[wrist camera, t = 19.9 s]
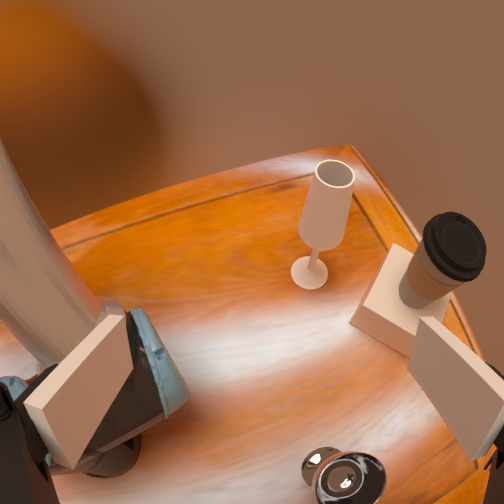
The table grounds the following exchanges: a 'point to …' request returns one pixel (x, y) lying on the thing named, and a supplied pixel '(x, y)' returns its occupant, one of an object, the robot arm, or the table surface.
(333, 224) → the champagne flute
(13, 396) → the robot arm
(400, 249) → the riser
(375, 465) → the wine glass
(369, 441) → the table surface
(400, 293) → the coffee cup
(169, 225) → the table surface
